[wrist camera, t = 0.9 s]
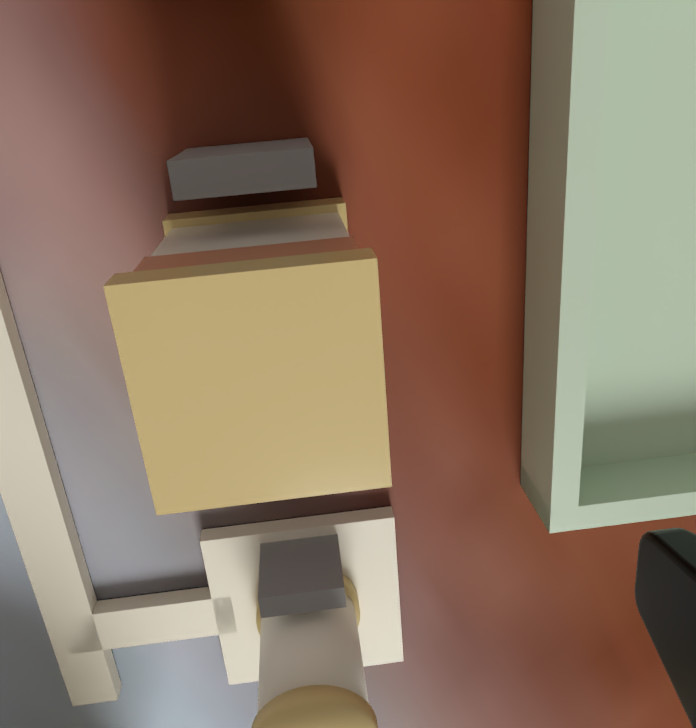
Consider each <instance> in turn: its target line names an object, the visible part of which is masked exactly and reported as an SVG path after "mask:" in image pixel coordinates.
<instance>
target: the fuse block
mask: <svg viewBox="0 0 696 728" xmlns="http://www.w3.org/2000/svg"><path fill="white" fill-rule="evenodd" d="M166 162H167V167H168V173H169V178H170V184H171V190H172V195H173V201H180V200H191V199H201V198H212V197H222V196H233V195H243V194H253V193H264V192H274V191H285V190H295V189H306V188H316V187H317V182H316V172H315V161H314V151H313V146H312V145H311V143H310V141H309V139H308V137H306V138H295V139H284V140H273V141H263V142H252V143H241V144H230V145H219V146H208V147H197V148H187V149H185V150H184V151H182V152H180V153H179V154H177V155H176V156H174V157H172V158H171V159H169V160H168V161H166ZM0 493H1V496H2V499H3V502H4V505H5V508H6V511H7V514H8V517H9V520H10V523H11V526H12V529H13V532H14V535H15V538H16V540H17V543H18V546H19V549H20V552H21V555H22V558H23V561H24V564H25V567H26V570H27V573H28V576H29V579H30V582H31V585H32V588H33V591H34V594H35V597H36V599H37V602H38V605H39V608H40V611H41V614H42V617H43V620H44V623H45V626H46V629H47V632H48V635H49V638H50V641H51V644H52V647H53V650H54V653H55V656H56V659H57V661H58V664H59V667H60V670H61V673H62V676H63V679H64V682H65V685H66V688H67V691H68V694H69V697H70V700H71V703H72V706H78V705H86V704H93V703H100V702H108V701H115V700H118V698H119V694H120V690H121V686H122V684H121V681H120V678H119V674H118V671H117V667H116V664H115V661H114V657H113V654H112V650H111V649H115V648H123V647H131V646H138V645H146V644H153V643H161V642H168V641H176V640H183V639H191V638H199V637H206V636H214V635H219V637H220V642H221V647H222V652H223V657H224V662H225V666H226V671H227V676H228V681H229V685H232V684H240V683H247V682H254V681H259V684H258V710H257V715H256V717H255V719H254V721H253V724H252V728H378V725H377V719H376V715H375V713H374V711H373V709H372V707H371V706H370V705H369V703H368V696H367V689H366V682H365V675H364V668H363V667H364V666H371V665H379V664H386V663H393V662H401V661H403V647H402V631H401V615H400V600H399V584H398V568H397V553H396V537H395V521H394V515H393V511H392V507H391V506H389V507H381V508H373V509H365V510H357V511H349V512H340V513H332V514H324V515H316V516H308V517H300V518H292V519H284V520H276V521H267V522H259V523H251V524H243V525H235V526H227V527H219V528H211V529H203V530H202V532H201V538H200V545H201V550H202V555H203V560H204V565H205V569H206V574H207V579H208V584H209V587H202V588H194V589H187V590H179V591H171V592H163V593H155V594H147V595H140V596H132V597H124V598H116V599H108V600H101V601H97V599H96V596H95V592H94V589H93V585H92V582H91V579H90V575H89V572H88V568H87V565H86V562H85V558H84V555H83V551H82V548H81V545H80V541H79V538H78V534H77V531H76V528H75V524H74V521H73V517H72V514H71V510H70V507H69V504H68V500H67V497H66V493H65V490H64V487H63V483H62V480H61V476H60V473H59V470H58V466H57V463H56V459H55V456H54V452H53V449H52V446H51V442H50V439H49V435H48V432H47V429H46V425H45V422H44V418H43V415H42V412H41V408H40V405H39V401H38V398H37V395H36V391H35V388H34V384H33V381H32V377H31V374H30V371H29V367H28V364H27V360H26V357H25V354H24V350H23V347H22V343H21V340H20V337H19V333H18V330H17V326H16V323H15V319H14V316H13V313H12V309H11V306H10V302H9V299H8V296H7V292H6V289H5V285H4V282H3V279H2V275H1V272H0Z"/></svg>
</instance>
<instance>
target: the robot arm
mask: <svg viewBox="0 0 696 728" xmlns="http://www.w3.org/2000/svg"><path fill="white" fill-rule="evenodd" d="M635 599H636V604H637V607H638V610H639V613H640V615H641V618H642V620H643V622H644V624H645V626H646V628H647V630H648V633H649V635H650V637H651V639H652V641H653V643H654V645H655V648H656V650H657V652H658V654H659V656H660V658H661V660H662V663H663V665H664V667H665V669H666V671H667V673H668V675H669V678H670V680H671V682H672V684H673V686H674V688H675V690H676V693H677V695H678V697H679V699H680V701H681V703H682V705H683V708H684V710H685V712H686V714H687V716H688V718H689V720H690V723H691V725H692V727H693V728H696V534H694V533H692V532H690V531H687V530H685V529H682V528H670V529H663V530H656V531H649V532H647V533H645V534H644V535H643V536H642V537H641V539H640V543H639V551H638V561H637V571H636V581H635Z"/></svg>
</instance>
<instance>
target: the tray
mask: <svg viewBox="0 0 696 728" xmlns="http://www.w3.org/2000/svg"><path fill="white" fill-rule="evenodd" d="M520 485H521V487H522V488H523V490H524V492H525V493H526V495H527V497H528V498H529V500H530V502H531V503H532V505H533V507H534V508H535V510H536V512H537V513H538V515H539V517H540V518H541V520H542V521H543V523H544V525H545V526H546V528H547V530H548V531H549V533H555V532H563V531H571V530H579V529H587V528H595V527H602V526H610V525H618V524H626V523H634V522H642V521H650V520H657V519H665V518H673V517H681V516H689V515H696V0H533V13H532V52H531V91H530V130H529V170H528V209H527V248H526V287H525V326H524V365H523V404H522V443H521V482H520Z"/></svg>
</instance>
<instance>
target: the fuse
mask: <svg viewBox="0 0 696 728" xmlns="http://www.w3.org/2000/svg"><path fill="white" fill-rule="evenodd" d="M162 223H163V228H164V234H165V238H164V239H163V240H162V242H161V243H160V244H159V245H158V247H157V248H156V249H155V251H154V252H153V253H152V254H151V256H150V257H144V258H143V260H142V261H141V262H140V263H139V265H138V266H137V267H136V268H135V270H134V271H133V272H125V273H116V274H114V275H113V276H112V277H111V278H110V279H109V280H108V282H107V283H106V284H105V285H104V286H103V287H104V291H105V296H106V300H107V304H108V309H109V313H110V317H111V322H112V326H113V330H114V334H115V339H116V343H117V347H118V352H119V356H120V360H121V364H122V369H123V373H124V377H125V382H126V386H127V390H128V394H129V399H130V403H131V407H132V412H133V416H134V420H135V425H136V429H137V433H138V437H139V442H140V446H141V450H142V455H143V459H144V463H145V467H146V472H147V476H148V480H149V485H150V489H151V493H152V498H153V502H154V506H155V510H156V515H164V514H172V513H180V512H188V511H197V510H205V509H213V508H221V507H229V506H238V505H246V504H254V503H262V502H270V501H279V500H287V499H295V498H303V497H311V496H320V495H328V494H336V493H344V492H352V491H361V490H369V489H377V488H385V487H392V481H391V466H390V450H389V435H388V419H387V403H386V388H385V372H384V357H383V341H382V325H381V310H380V294H379V278H378V263H377V257H376V255H375V253H374V252H373V250H372V248H362V249H359V247H358V245H357V243H356V241H355V239H354V237H353V236H349V234H348V227H347V214H346V203H345V201H344V199H343V198H342V197H338V198H328V199H317V200H307V201H297V202H286V203H276V204H266V205H255V206H245V207H235V208H224V209H214V210H204V211H193V212H183V213H173V214H168V215H167V216H166V217H165V218H164V219H163V220H162Z"/></svg>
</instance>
